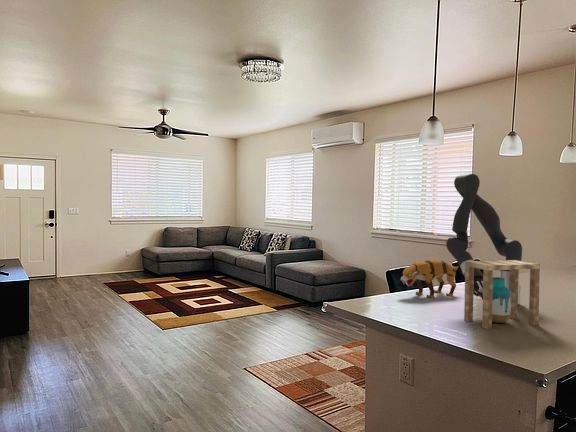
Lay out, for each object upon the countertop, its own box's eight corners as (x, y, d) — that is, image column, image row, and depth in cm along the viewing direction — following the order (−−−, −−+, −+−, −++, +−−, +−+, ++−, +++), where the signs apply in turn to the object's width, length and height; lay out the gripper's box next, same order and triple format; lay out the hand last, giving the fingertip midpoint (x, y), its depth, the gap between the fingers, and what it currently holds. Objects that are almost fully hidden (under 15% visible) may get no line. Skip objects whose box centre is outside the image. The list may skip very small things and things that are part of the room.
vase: (513, 326, 182) (514, 280, 182) (485, 324, 185) (486, 279, 184) (507, 319, 192) (508, 276, 192) (481, 318, 195) (482, 275, 195)
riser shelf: (513, 316, 198) (514, 259, 197) (538, 325, 184) (539, 264, 184) (464, 320, 191) (465, 261, 190) (486, 329, 178) (487, 265, 177)
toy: (394, 295, 243) (395, 259, 243) (450, 291, 258) (450, 257, 258) (408, 300, 232) (409, 262, 231) (465, 295, 247) (466, 259, 246)
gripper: (462, 267, 201) (479, 299, 190) (487, 266, 204) (505, 298, 193) (455, 276, 207) (471, 308, 195) (479, 276, 210) (496, 307, 198)
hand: (488, 303), depth 194 cm, fingers closed
